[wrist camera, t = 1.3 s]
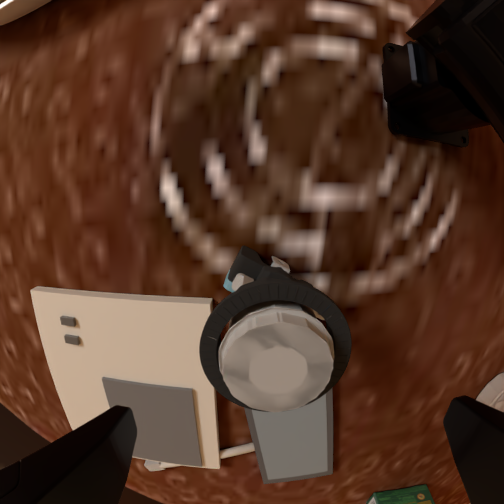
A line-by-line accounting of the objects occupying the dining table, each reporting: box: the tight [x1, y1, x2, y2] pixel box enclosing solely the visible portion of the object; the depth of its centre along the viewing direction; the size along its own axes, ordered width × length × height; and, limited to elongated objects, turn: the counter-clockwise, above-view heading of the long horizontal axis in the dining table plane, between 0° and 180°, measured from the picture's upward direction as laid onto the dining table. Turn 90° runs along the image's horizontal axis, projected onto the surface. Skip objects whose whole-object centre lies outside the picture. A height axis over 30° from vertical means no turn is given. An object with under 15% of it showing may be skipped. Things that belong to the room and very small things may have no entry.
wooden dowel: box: [144, 442, 255, 471], centre depth 22 cm, size 13×1×1 cm, turn 114°
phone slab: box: [244, 388, 333, 484], centre depth 21 cm, size 6×12×1 cm, turn 9°
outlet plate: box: [31, 286, 221, 469], centre depth 20 cm, size 14×16×1 cm
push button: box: [199, 246, 351, 412], centre depth 14 cm, size 7×5×10 cm
